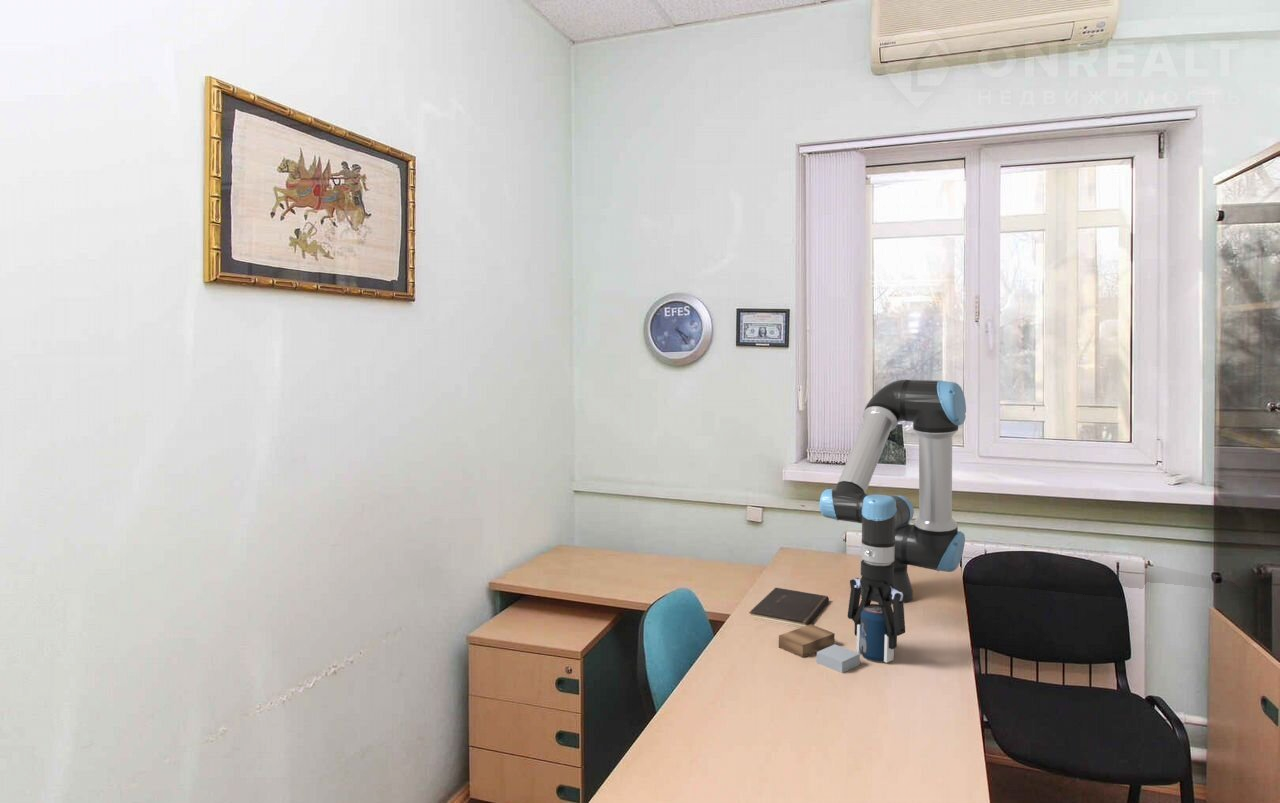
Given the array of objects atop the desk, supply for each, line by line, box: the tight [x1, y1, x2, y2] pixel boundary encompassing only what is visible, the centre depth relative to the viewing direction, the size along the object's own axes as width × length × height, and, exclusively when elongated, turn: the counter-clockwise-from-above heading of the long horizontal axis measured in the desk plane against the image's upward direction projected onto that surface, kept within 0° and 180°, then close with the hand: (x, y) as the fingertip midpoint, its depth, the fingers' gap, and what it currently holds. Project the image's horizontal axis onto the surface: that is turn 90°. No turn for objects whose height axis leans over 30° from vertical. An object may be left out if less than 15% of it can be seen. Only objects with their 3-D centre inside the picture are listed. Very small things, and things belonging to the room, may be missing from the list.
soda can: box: [859, 603, 888, 663], centre depth 177 cm, size 7×7×12 cm
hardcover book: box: [748, 587, 830, 628], centre depth 209 cm, size 16×23×2 cm
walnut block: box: [778, 624, 835, 658], centre depth 184 cm, size 12×8×3 cm, turn 128°
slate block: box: [816, 643, 861, 674], centre depth 174 cm, size 7×7×3 cm
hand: (874, 655), depth 178 cm, fingers closed on soda can, 7 cm apart
